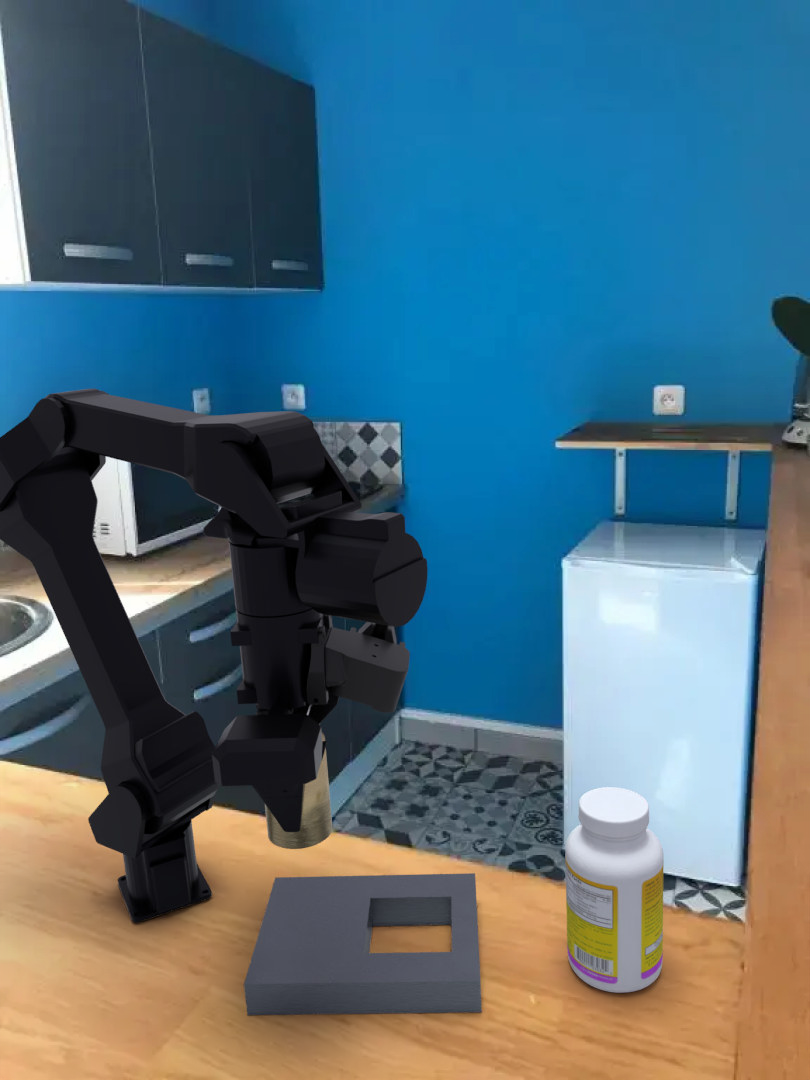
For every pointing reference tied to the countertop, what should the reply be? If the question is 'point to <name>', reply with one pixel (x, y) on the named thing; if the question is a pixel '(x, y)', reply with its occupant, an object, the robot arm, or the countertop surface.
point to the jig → (364, 947)
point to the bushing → (307, 815)
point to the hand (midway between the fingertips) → (298, 811)
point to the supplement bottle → (614, 892)
